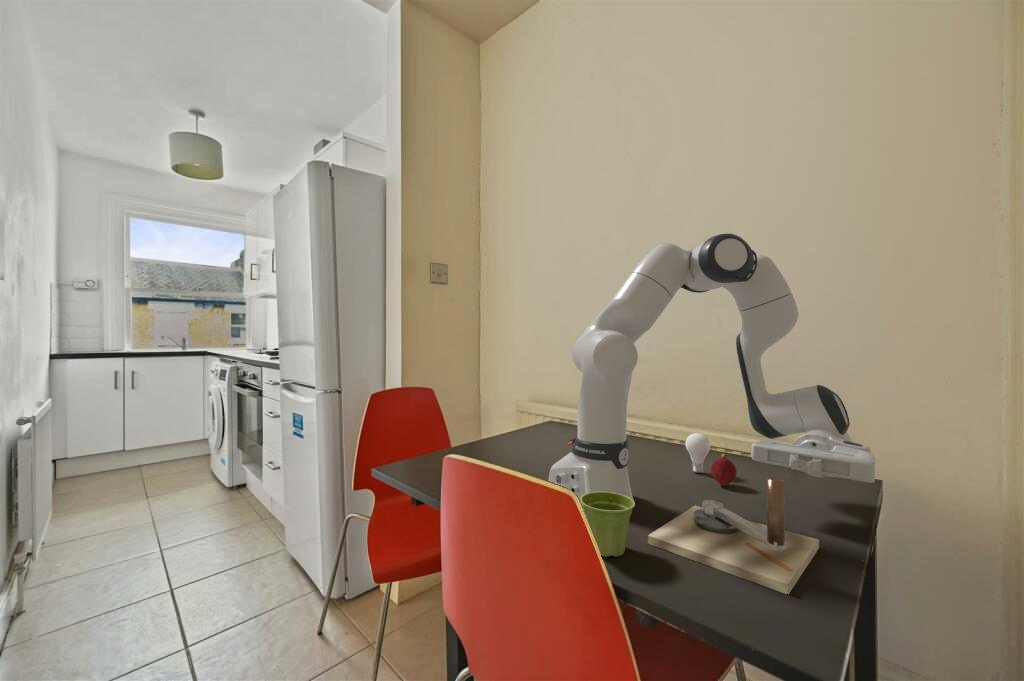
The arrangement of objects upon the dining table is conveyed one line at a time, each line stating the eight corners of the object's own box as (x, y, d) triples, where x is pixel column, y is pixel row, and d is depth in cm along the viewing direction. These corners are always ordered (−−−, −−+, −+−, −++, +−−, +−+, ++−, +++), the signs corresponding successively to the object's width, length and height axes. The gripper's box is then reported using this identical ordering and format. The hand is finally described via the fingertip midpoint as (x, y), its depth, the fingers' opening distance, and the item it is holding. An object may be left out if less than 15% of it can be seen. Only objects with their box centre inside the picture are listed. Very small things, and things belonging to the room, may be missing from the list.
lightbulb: (681, 469, 122) (681, 431, 122) (702, 469, 123) (702, 430, 123) (692, 477, 116) (692, 436, 116) (715, 476, 117) (715, 435, 117)
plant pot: (596, 532, 83) (596, 487, 83) (643, 547, 77) (643, 498, 77) (570, 551, 76) (570, 501, 76) (620, 569, 70) (620, 515, 70)
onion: (739, 490, 106) (739, 457, 106) (714, 489, 107) (714, 456, 107) (732, 482, 111) (732, 451, 111) (708, 481, 112) (708, 450, 112)
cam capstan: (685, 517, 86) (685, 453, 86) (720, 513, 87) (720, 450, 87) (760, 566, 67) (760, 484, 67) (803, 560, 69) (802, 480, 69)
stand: (647, 543, 78) (647, 534, 78) (694, 512, 92) (694, 504, 92) (788, 594, 63) (788, 583, 63) (819, 548, 76) (819, 538, 76)
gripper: (762, 430, 97) (740, 440, 88) (880, 448, 83) (870, 461, 73) (761, 458, 97) (739, 471, 88) (880, 480, 83) (869, 498, 73)
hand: (800, 467), depth 80 cm, fingers closed
